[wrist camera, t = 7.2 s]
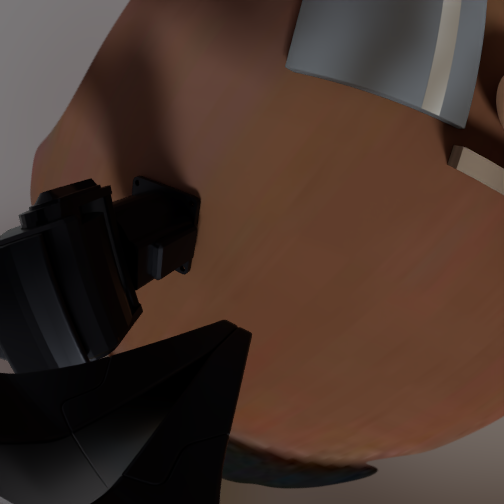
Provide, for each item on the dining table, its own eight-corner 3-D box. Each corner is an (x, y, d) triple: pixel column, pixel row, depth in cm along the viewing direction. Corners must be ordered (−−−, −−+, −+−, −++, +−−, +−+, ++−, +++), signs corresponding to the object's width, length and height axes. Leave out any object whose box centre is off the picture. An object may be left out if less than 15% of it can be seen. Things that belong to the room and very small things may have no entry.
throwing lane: (284, 105, 17) (269, 101, 14) (335, -90, 9) (326, -109, 7) (560, 233, 11) (577, 246, 9) (593, 24, 3) (608, 17, 1)
